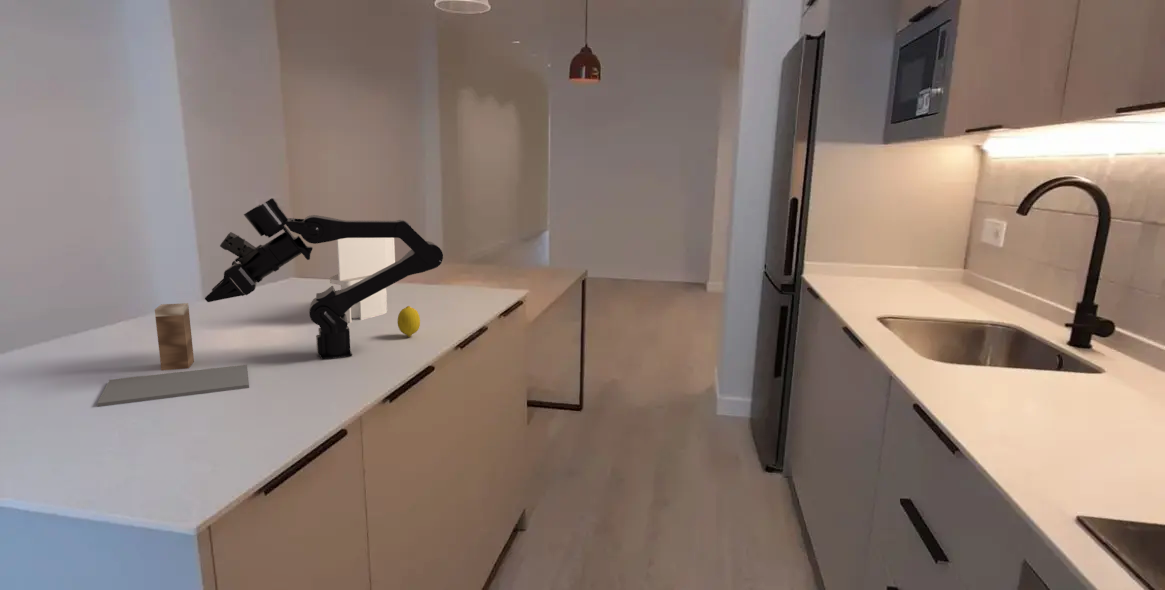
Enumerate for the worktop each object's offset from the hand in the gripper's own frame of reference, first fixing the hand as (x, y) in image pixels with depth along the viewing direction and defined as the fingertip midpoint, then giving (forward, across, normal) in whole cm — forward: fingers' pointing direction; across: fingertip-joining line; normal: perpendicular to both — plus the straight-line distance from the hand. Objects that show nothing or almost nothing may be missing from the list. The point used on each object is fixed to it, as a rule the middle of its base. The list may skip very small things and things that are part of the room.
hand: (209, 295), depth 137 cm
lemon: (-27, -11, +36) cm, 46 cm away
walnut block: (+14, -1, +9) cm, 17 cm away
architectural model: (-20, -40, +31) cm, 54 cm away
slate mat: (+12, +12, +10) cm, 20 cm away
